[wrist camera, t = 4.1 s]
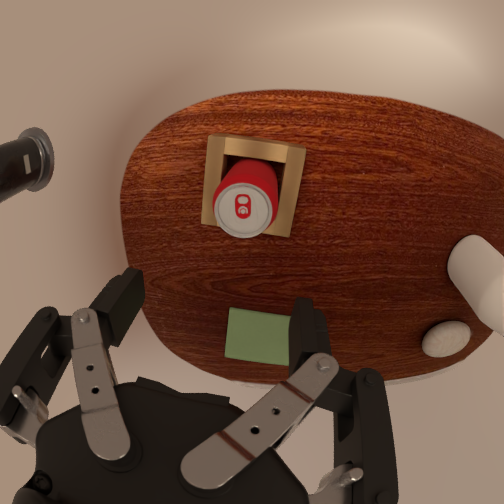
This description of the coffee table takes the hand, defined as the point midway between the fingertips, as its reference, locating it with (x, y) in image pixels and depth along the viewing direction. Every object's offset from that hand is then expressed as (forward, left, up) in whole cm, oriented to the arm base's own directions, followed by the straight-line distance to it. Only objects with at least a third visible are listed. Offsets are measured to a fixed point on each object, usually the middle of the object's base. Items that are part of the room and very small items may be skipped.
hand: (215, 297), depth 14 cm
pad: (+7, -28, -24) cm, 38 cm away
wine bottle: (+38, -5, -24) cm, 45 cm away
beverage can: (0, 0, -24) cm, 24 cm away
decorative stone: (+43, -22, -24) cm, 54 cm away
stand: (0, 0, -24) cm, 24 cm away
